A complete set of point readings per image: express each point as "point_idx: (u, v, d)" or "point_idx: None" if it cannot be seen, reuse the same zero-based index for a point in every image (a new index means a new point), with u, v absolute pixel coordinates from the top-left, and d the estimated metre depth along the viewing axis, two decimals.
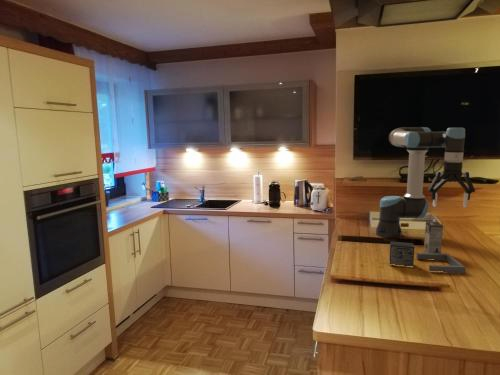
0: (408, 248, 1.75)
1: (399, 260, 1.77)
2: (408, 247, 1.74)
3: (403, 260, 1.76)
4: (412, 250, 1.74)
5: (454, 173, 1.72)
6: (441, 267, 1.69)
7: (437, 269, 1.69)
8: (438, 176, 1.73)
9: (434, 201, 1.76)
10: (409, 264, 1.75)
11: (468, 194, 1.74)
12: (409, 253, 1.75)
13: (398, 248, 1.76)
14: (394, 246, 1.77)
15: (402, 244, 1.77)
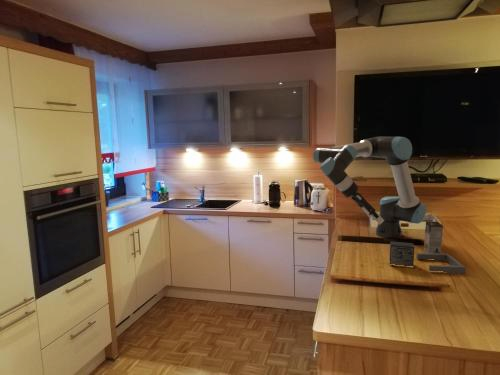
0: (408, 248, 1.75)
1: (399, 260, 1.77)
2: (408, 247, 1.74)
3: (403, 260, 1.76)
4: (412, 250, 1.74)
5: (353, 196, 1.75)
6: (441, 267, 1.69)
7: (437, 269, 1.69)
8: (351, 196, 1.82)
9: None
10: (409, 264, 1.75)
11: (372, 214, 1.69)
12: (409, 253, 1.75)
13: (398, 248, 1.76)
14: (394, 246, 1.77)
15: (402, 244, 1.77)
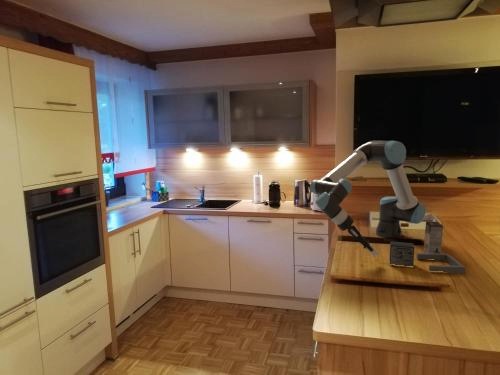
0: (408, 248, 1.75)
1: (399, 260, 1.77)
2: (408, 247, 1.74)
3: (403, 260, 1.76)
4: (412, 250, 1.74)
5: None
6: (441, 267, 1.69)
7: (437, 269, 1.69)
8: None
9: None
10: (409, 264, 1.75)
11: (367, 247, 1.79)
12: (409, 253, 1.75)
13: (398, 248, 1.76)
14: (394, 246, 1.77)
15: (402, 244, 1.77)
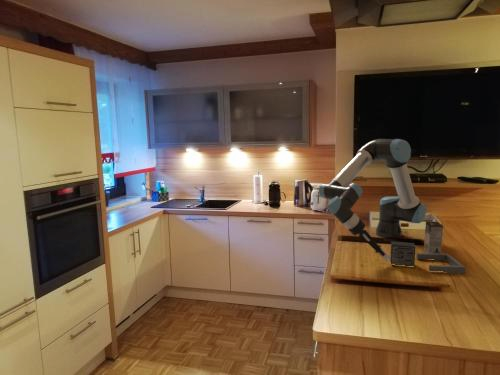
0: (409, 248, 1.75)
1: (400, 259, 1.77)
2: (410, 247, 1.75)
3: (404, 259, 1.76)
4: (413, 250, 1.74)
5: None
6: (441, 267, 1.69)
7: (437, 269, 1.69)
8: None
9: None
10: (411, 264, 1.75)
11: (378, 252, 1.78)
12: (410, 253, 1.75)
13: (399, 247, 1.76)
14: (395, 246, 1.76)
15: (403, 244, 1.77)
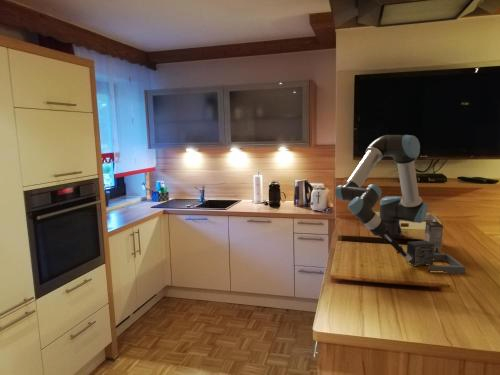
0: (429, 246, 1.77)
1: (422, 259, 1.77)
2: (430, 245, 1.77)
3: (425, 258, 1.78)
4: (432, 247, 1.78)
5: None
6: (441, 267, 1.69)
7: (437, 269, 1.69)
8: None
9: None
10: (430, 261, 1.79)
11: (400, 252, 1.77)
12: (430, 251, 1.78)
13: (421, 247, 1.76)
14: (418, 246, 1.76)
15: (422, 243, 1.79)
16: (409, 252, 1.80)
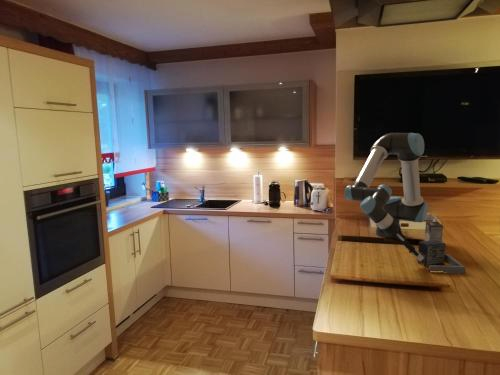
0: (441, 245, 1.78)
1: (434, 258, 1.78)
2: (441, 244, 1.78)
3: (436, 257, 1.78)
4: (444, 247, 1.78)
5: None
6: (441, 267, 1.69)
7: (437, 269, 1.69)
8: None
9: None
10: (441, 261, 1.79)
11: (412, 252, 1.77)
12: (441, 250, 1.78)
13: (433, 246, 1.77)
14: (430, 245, 1.76)
15: (433, 242, 1.79)
16: (421, 252, 1.80)
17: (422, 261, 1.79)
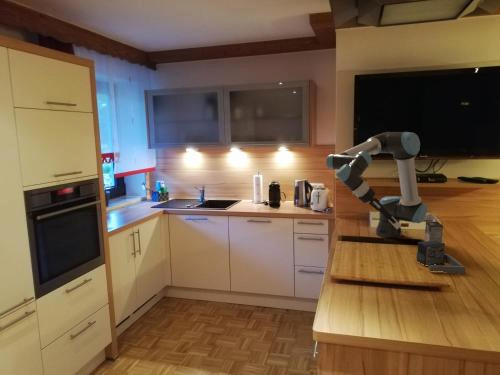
0: (440, 246, 1.78)
1: (433, 258, 1.78)
2: (440, 245, 1.78)
3: (436, 258, 1.78)
4: (443, 247, 1.78)
5: None
6: (441, 267, 1.69)
7: (437, 269, 1.69)
8: None
9: None
10: (441, 261, 1.79)
11: (389, 219, 1.76)
12: (441, 250, 1.78)
13: (432, 247, 1.77)
14: (429, 246, 1.76)
15: (432, 243, 1.79)
16: (420, 252, 1.80)
17: (421, 261, 1.80)
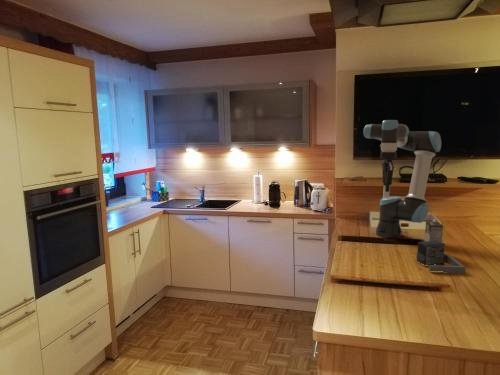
0: (440, 246, 1.78)
1: (433, 258, 1.78)
2: (440, 245, 1.78)
3: (436, 258, 1.78)
4: (443, 247, 1.78)
5: None
6: (441, 267, 1.69)
7: (437, 269, 1.69)
8: (382, 167, 1.95)
9: None
10: (441, 261, 1.79)
11: (385, 186, 1.90)
12: (441, 250, 1.78)
13: (432, 247, 1.77)
14: (429, 246, 1.76)
15: (432, 243, 1.79)
16: (420, 252, 1.80)
17: (421, 261, 1.80)
